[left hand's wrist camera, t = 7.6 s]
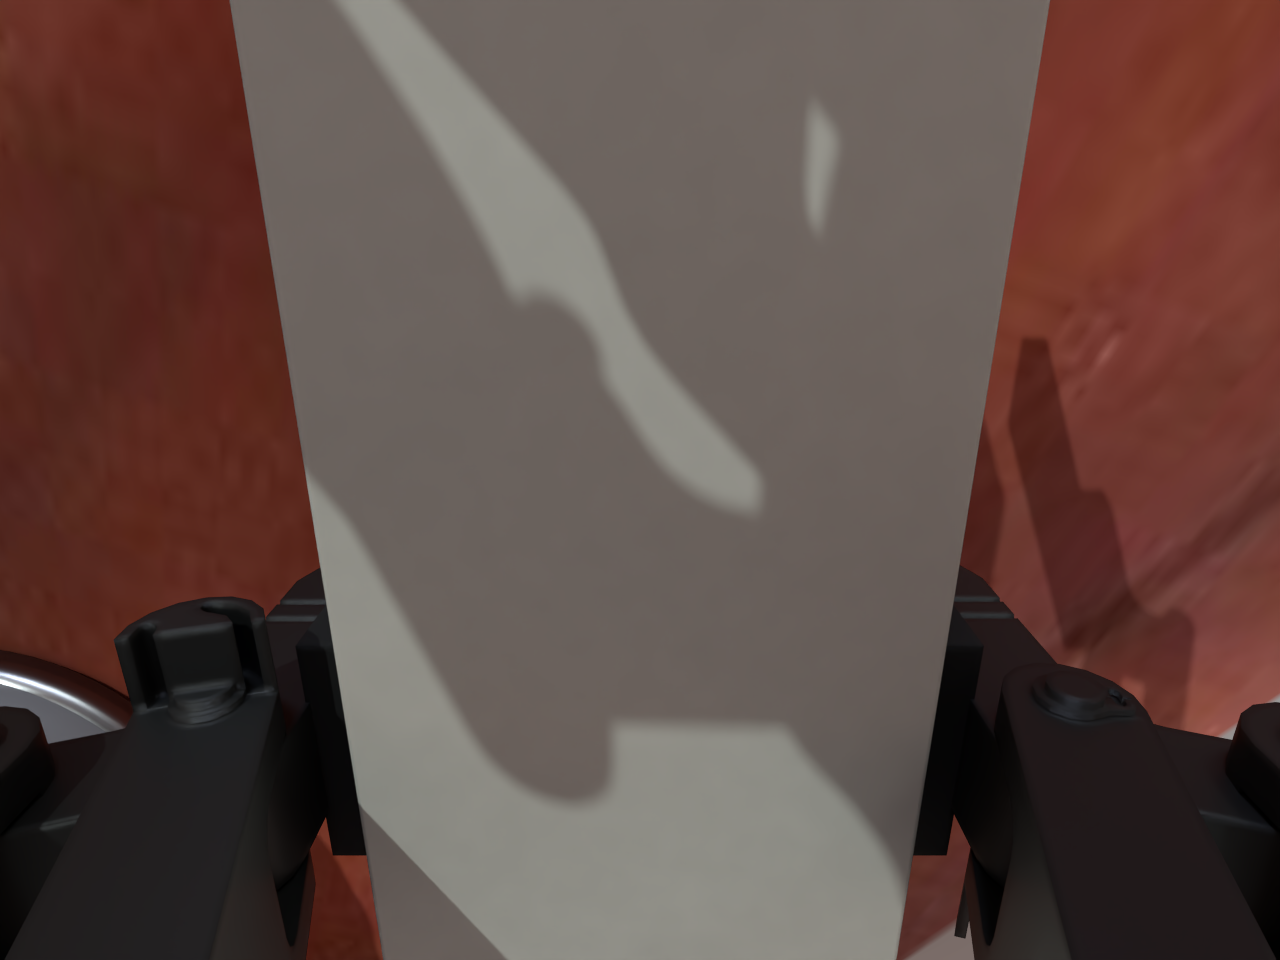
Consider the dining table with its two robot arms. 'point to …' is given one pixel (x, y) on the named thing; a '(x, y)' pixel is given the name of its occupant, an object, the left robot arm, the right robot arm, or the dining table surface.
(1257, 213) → the dining table surface
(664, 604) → the bar
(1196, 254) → the dining table surface
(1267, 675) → the dining table surface
